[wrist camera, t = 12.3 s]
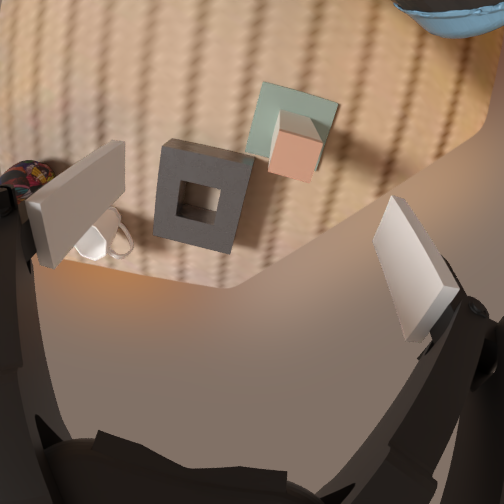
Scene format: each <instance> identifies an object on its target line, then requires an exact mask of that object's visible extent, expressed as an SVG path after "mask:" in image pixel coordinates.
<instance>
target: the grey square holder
mask: <svg viewBox="0 0 504 504" xmlns="http://www.w3.org/2000/svg"><path fill="white" fill-rule="evenodd" d="M254 159H255V157H253V156H249V155H245V154H241V153H237V152H233V151H228V150H224V149H220V148H215V147H211V146H206V145H202V144H197V143H192V142H187V141H182V140H177V139H170V140H169V141H168V142H166V143H165V144H164V145H163V146H162V149H161V157H160V165H159V173H158V182H157V192H156V202H155V214H154V226H153V235H154V236H158V237H162V238H166V239H170V240H174V241H178V242H182V243H186V244H190V245H194V246H198V247H202V248H206V249H210V250H214V251H218V252H222V253H226V254H230V253H231V249H232V245H233V241H234V237H235V233H236V229H237V225H238V221H239V217H240V213H241V209H242V205H243V202H244V198H245V194H246V190H247V186H248V182H249V178H250V174H251V170H252V167H253V163H254ZM187 182H191V183H196V184H200V185H204V186H209V187H213V188H217V189H221V193H220V198H219V202H218V207H217V212H216V211H212V210H208V209H204V208H199V207H195V206H191V205H187V204H183V202H184V196H185V189H186V183H187Z"/></svg>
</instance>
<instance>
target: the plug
mask: <svg viewBox="0 0 504 504" xmlns="http://www.w3.org/2000/svg"><path fill="white" fill-rule="evenodd" d="M322 146H323V142H322V140H321V138H320V136H319V134H318V132H317V130H316V128H315V126H314V124H313V123H312V121H311V119H310V117H306V116H303V115H300V114H296V113H293V112H289V111H286V110H282V109H280V111H279V114H278V118H277V121H276V125H275V129H274V132H273V136H272V142H271V150H270V158H269V166H268V172H271V173H275V174H278V175H282V176H286V177H289V178H293V179H296V180H300V181H303V182H307V183H310V181H311V178H312V175H313V172H314V169H315V167H316V164H317V161H318V158H319V155H320V152H321V149H322Z"/></svg>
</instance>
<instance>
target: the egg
mask: <svg viewBox="0 0 504 504" xmlns="http://www.w3.org/2000/svg"><path fill="white" fill-rule="evenodd" d="M54 178H55V174H54V172H53V171H52V170H51V168H50V167H49V166H48V165H45V164H44V163H40V162H37V161H33V160H26V161H21V162H19V163H17V164H15V165H13V166H12V167H10V168H9V169H8V170H7V171H6V172H5V173H4V174H3V175H2V176H1V177H0V185H2V184H12V185H14V188H15V193H16V198H17V203H18V204H19V203H21V202H22V201H23V200H24V199H26V198H27V197H28V196H29V195H31V194H32V193H34V192H35V191H36V190H37V189H40V187H41V186H42V185H44V184H45V183H47V182H48V181H50V180H52V179H54Z"/></svg>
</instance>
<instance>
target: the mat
mask: <svg viewBox="0 0 504 504" xmlns="http://www.w3.org/2000/svg"><path fill="white" fill-rule="evenodd" d="M337 106H338V103H335V102H332V101H329V100H326V99H323V98H320V97H317V96H314V95H310V94H307V93H304V92H300V91H297V90H293V89H290V88H286V87H283V86H279V85H275V84H271V83H267V82H263V83H262V87H261V91H260V95H259V98H258V102H257V106H256V110H255V114H254V118H253V122H252V125H251V129H250V133H249V137H248V141H247V145H246V149H245V152H248V153H252V154H256V155H260V156H264V157H267V158H270V150H271V142H272V136H273V132H274V129H275V125H276V121H277V118H278V114H279V111H280V109H282V110H286V111H289V112H293V113H296V114H300V115H303V116H306V117H310V119H311V121H312V123H313V124H314V126H315V128H316V130H317V132H318V134H319V136H320V138H321V140H322V142H323V146H322V149H321V152H320V155H319V158H318V161H317V164H316V167H315V169H314V171H316V169H317V166H318V163H319V160H320V157H321V154H322V152H323V149H324V146H325V143H326V140H327V137H328V134H329V131H330V128H331V125H332V122H333V119H334V116H335V113H336V110H337Z"/></svg>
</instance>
